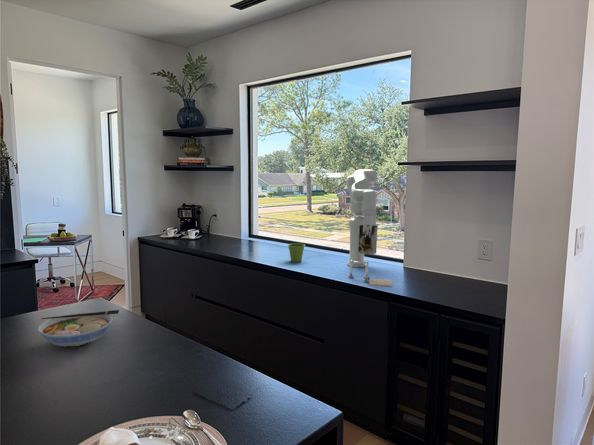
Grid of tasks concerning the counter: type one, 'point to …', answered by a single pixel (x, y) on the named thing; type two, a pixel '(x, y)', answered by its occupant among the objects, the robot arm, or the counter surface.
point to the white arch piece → (365, 270)
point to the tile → (381, 282)
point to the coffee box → (373, 243)
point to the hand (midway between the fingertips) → (367, 243)
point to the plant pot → (296, 252)
